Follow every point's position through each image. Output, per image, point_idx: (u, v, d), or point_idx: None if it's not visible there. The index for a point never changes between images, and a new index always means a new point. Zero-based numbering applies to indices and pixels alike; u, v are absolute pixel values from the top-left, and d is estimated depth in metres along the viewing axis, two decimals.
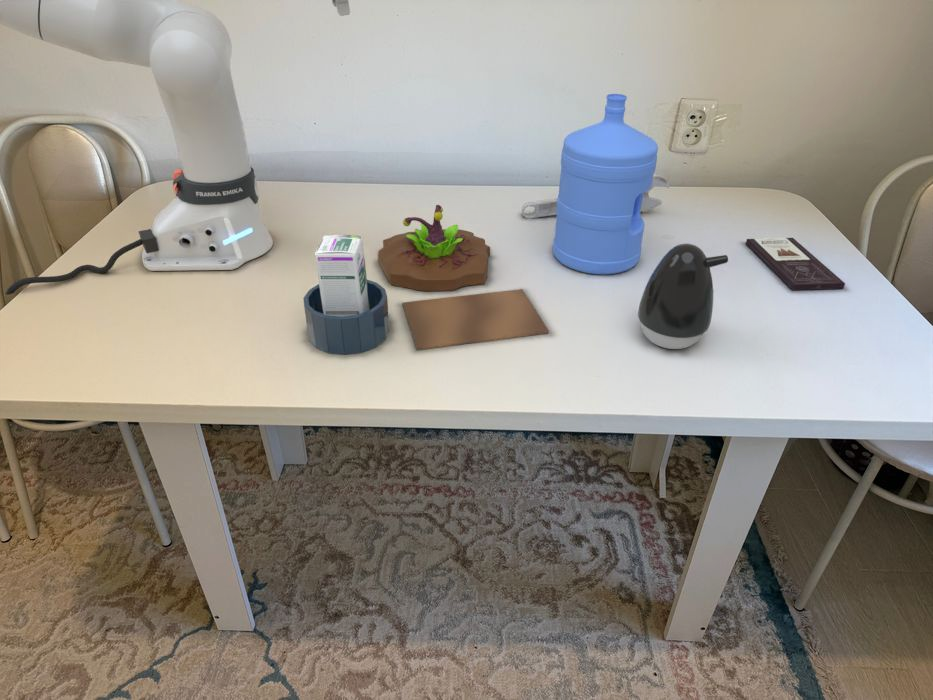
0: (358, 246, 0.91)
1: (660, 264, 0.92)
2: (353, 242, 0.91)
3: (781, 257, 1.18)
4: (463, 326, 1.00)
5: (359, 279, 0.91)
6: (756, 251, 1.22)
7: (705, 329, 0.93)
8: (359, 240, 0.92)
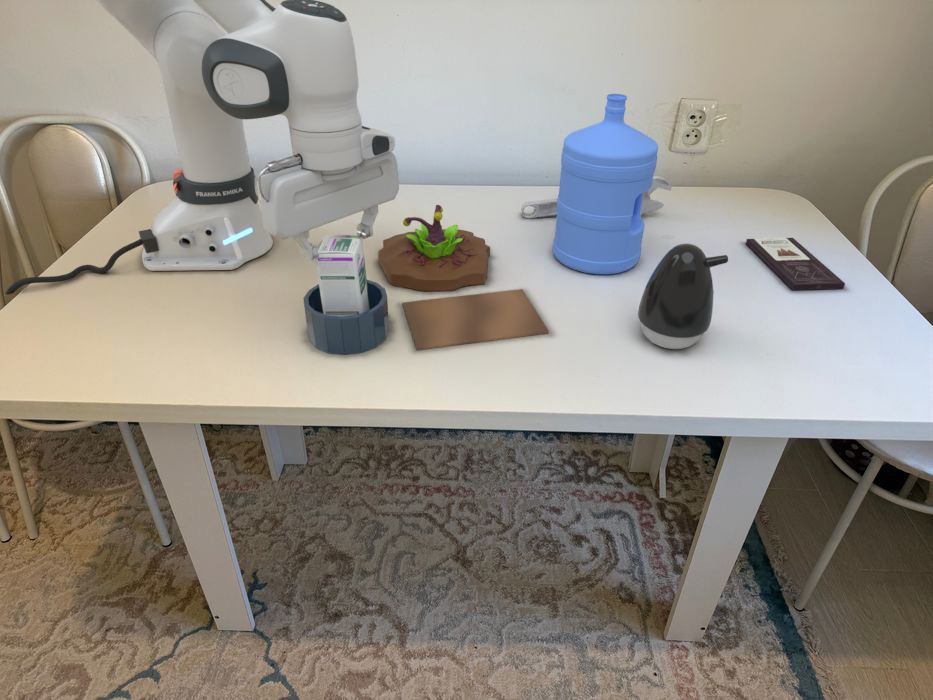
0: (358, 246, 0.91)
1: (660, 264, 0.92)
2: (353, 242, 0.91)
3: (781, 257, 1.18)
4: (463, 326, 1.00)
5: (359, 279, 0.91)
6: (756, 251, 1.22)
7: (705, 329, 0.93)
8: (359, 240, 0.92)
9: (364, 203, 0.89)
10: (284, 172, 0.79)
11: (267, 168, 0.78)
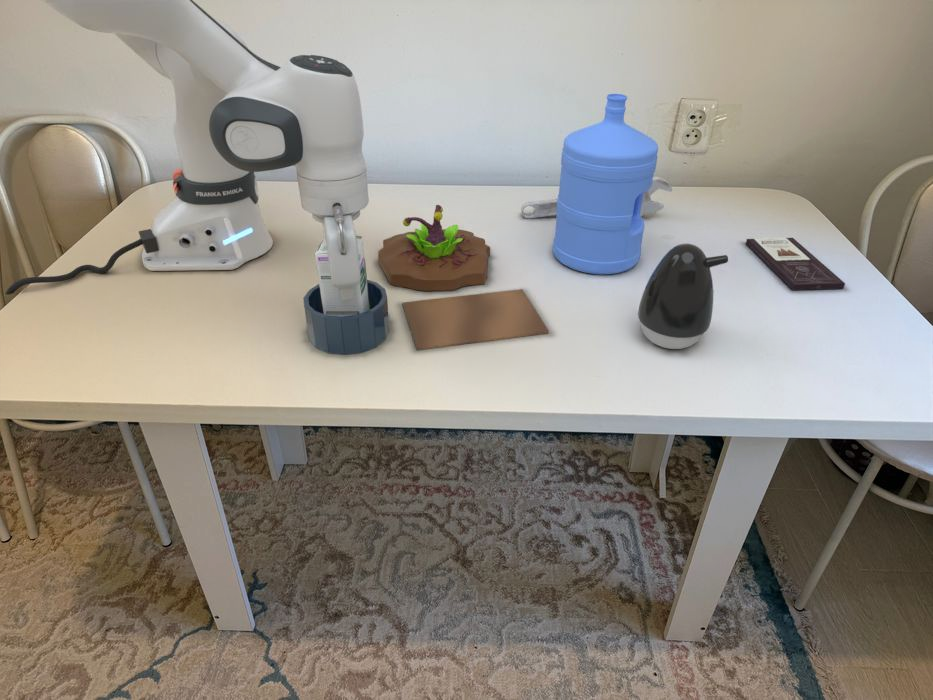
0: (358, 246, 0.91)
1: (660, 264, 0.92)
2: None
3: (781, 257, 1.18)
4: (463, 326, 1.00)
5: None
6: (756, 251, 1.22)
7: (705, 329, 0.93)
8: (359, 240, 0.92)
9: None
10: None
11: (341, 222, 0.80)
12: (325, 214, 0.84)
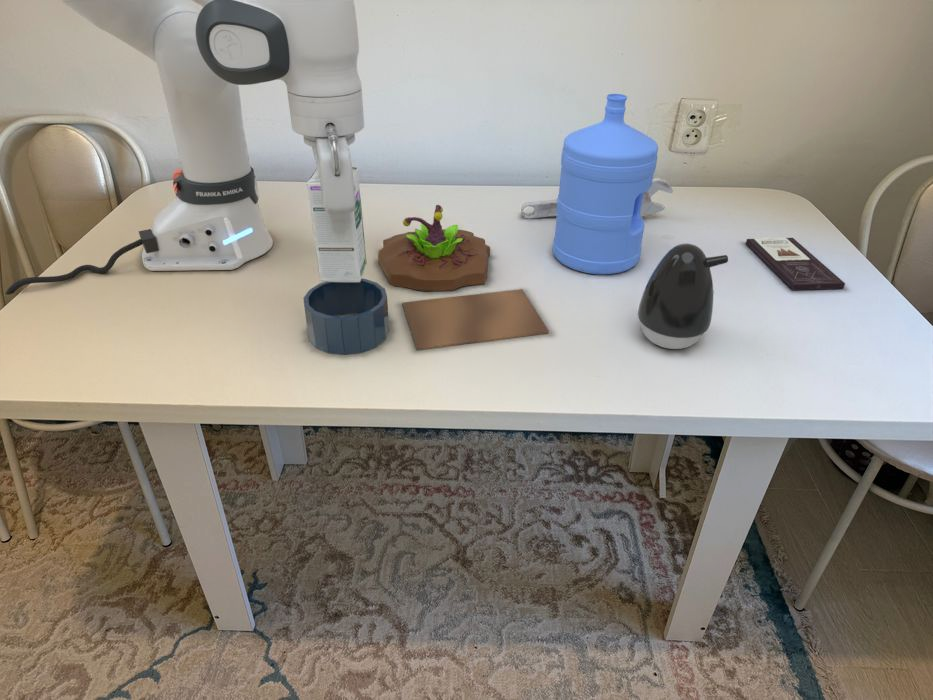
0: (353, 176, 0.85)
1: (660, 264, 0.92)
2: None
3: (781, 257, 1.18)
4: (463, 326, 1.00)
5: (354, 212, 0.86)
6: (756, 251, 1.22)
7: (705, 329, 0.93)
8: (354, 171, 0.86)
9: None
10: None
11: (335, 140, 0.74)
12: (317, 135, 0.78)
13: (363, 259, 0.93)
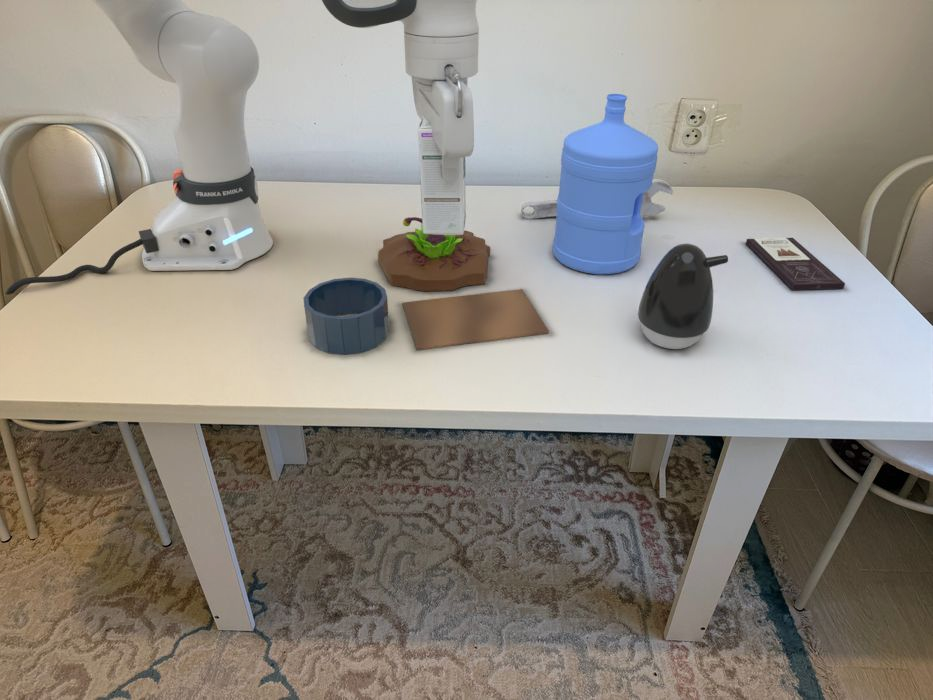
0: None
1: (660, 264, 0.92)
2: None
3: (781, 257, 1.18)
4: (463, 326, 1.00)
5: (463, 160, 0.85)
6: (756, 251, 1.22)
7: (705, 329, 0.93)
8: None
9: None
10: None
11: (459, 79, 0.73)
12: (435, 78, 0.77)
13: None
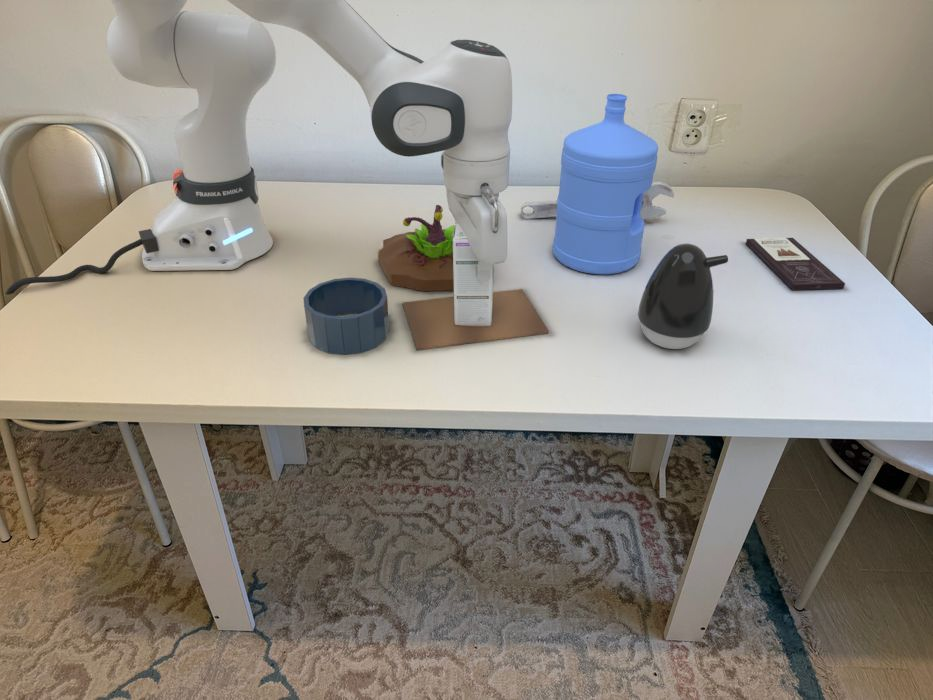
0: None
1: (660, 264, 0.92)
2: None
3: (781, 257, 1.18)
4: (463, 326, 1.00)
5: None
6: (756, 251, 1.22)
7: (705, 329, 0.93)
8: None
9: None
10: None
11: (496, 201, 0.82)
12: (472, 194, 0.87)
13: None
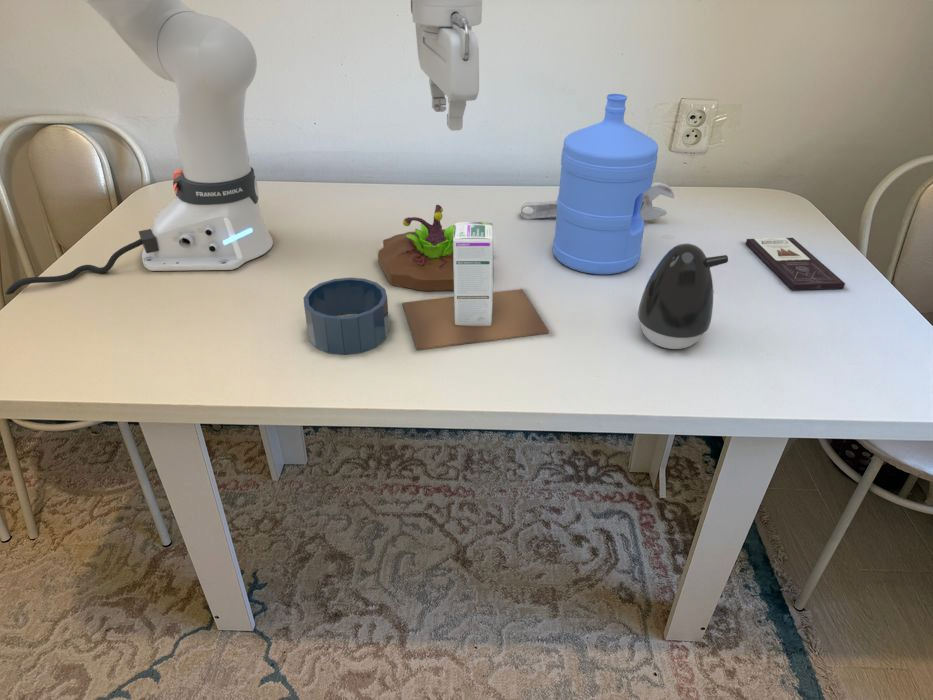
0: (492, 232, 0.94)
1: (660, 264, 0.92)
2: (487, 228, 0.94)
3: (781, 257, 1.18)
4: (463, 326, 1.00)
5: (492, 264, 0.94)
6: (756, 251, 1.22)
7: (705, 329, 0.93)
8: (491, 227, 0.95)
9: None
10: None
11: (466, 23, 0.77)
12: (442, 25, 0.81)
13: None
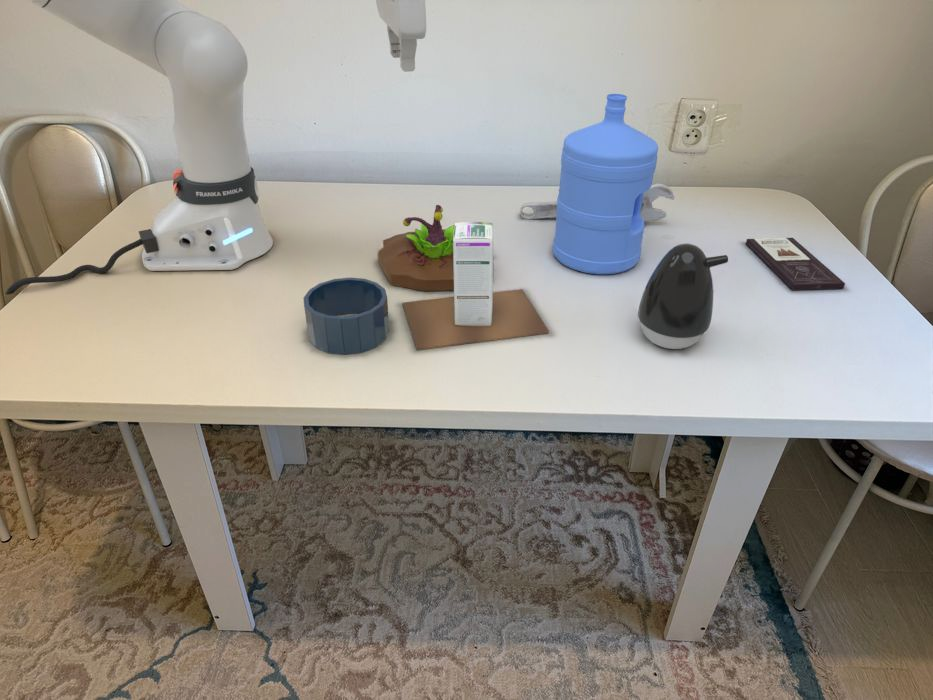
0: (492, 232, 0.94)
1: (660, 264, 0.92)
2: (487, 228, 0.94)
3: (781, 257, 1.18)
4: (463, 326, 1.00)
5: (492, 264, 0.94)
6: (756, 251, 1.22)
7: (705, 329, 0.93)
8: (491, 227, 0.95)
9: None
10: None
11: None
12: None
13: None
